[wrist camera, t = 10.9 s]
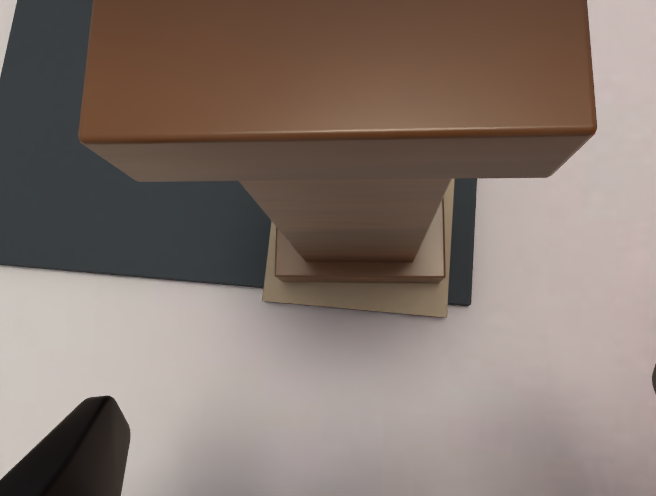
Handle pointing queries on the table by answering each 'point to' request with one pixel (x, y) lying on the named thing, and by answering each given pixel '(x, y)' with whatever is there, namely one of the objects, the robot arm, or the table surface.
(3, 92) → the word mat
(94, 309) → the table surface
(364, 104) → the letter I
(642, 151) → the table surface
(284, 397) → the table surface
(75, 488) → the robot arm
